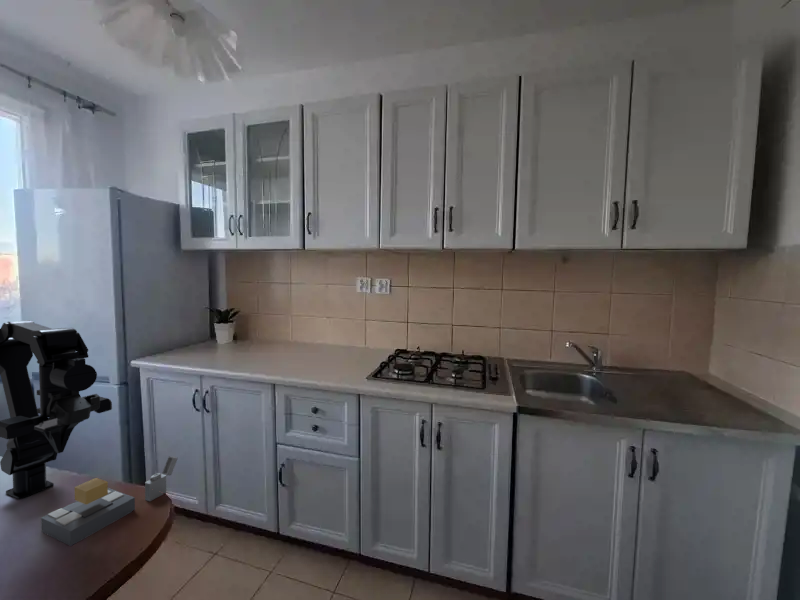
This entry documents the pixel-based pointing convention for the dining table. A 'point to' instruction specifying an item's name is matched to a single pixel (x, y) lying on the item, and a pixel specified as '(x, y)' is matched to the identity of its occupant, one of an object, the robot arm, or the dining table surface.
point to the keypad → (86, 517)
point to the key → (91, 490)
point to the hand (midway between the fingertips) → (59, 452)
